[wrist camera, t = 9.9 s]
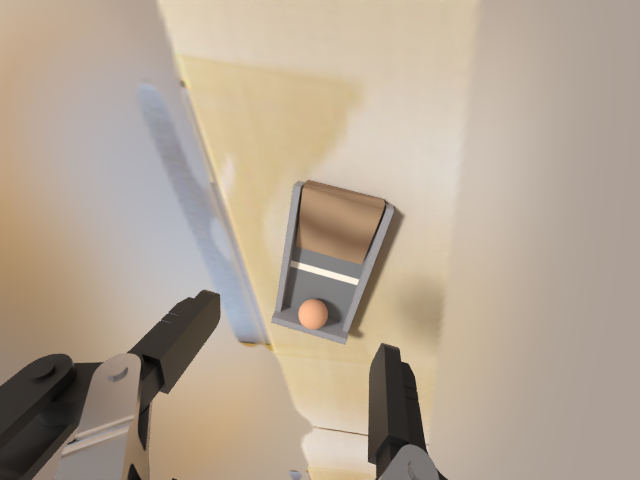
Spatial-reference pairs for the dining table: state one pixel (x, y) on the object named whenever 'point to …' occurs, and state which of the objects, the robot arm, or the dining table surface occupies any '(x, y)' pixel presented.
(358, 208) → the ramp
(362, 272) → the lane
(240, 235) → the dining table surface
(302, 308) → the ball
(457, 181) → the dining table surface
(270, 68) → the dining table surface
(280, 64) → the dining table surface
